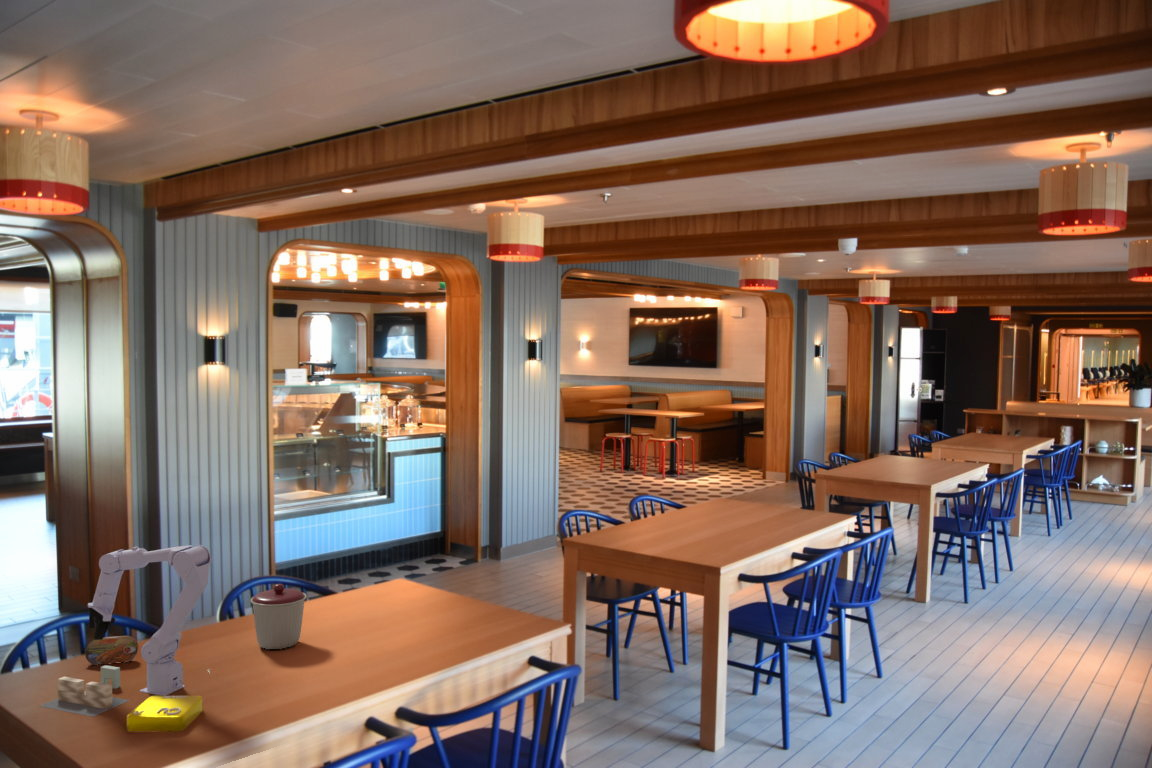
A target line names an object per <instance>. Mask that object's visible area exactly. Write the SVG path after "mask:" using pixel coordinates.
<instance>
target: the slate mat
mask: <svg viewBox="0 0 1152 768" xmlns="http://www.w3.org/2000/svg"><path fill="white" fill-rule="evenodd" d="M128 702H130V699H124V698H121V697H114V696H112V707H110V708H108V709H103V708H98V707H92V706H87V705H82V704H77V703H72V702H66V701H61V700H58V698H56V699H53V700H51V701H47V702H45V703H43V704H41V705H39V707H42V708H45V709H46V708H47V709H52V710H55V711H62V712H67V713H72V714H78V715H82V716H88V717H96V716H98V715H100V714H102V713H105V712H107V711H109V710H112V709H115V708H116V707H118V706H121V705H123V704H125V703H128Z"/></svg>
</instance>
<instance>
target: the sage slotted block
mask: <svg viewBox="0 0 1152 768" xmlns="http://www.w3.org/2000/svg"><path fill="white" fill-rule="evenodd" d="M110 680H111V685H112V689H115V690H116V689H118V688H121V667H119V666H118V667H117V666H112V665H101V666H100V683H103V684H109V685H110Z"/></svg>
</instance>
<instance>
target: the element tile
mask: <svg viewBox="0 0 1152 768" xmlns="http://www.w3.org/2000/svg"><path fill="white" fill-rule="evenodd" d="M202 712H203V696H201V695H166V696H161V695H151V696H148V698H146V699H145V700H143V701H142V702H141V703H139V704H138V705H137V706H136V707H135V708H134V709H132V711H130V712H129V713H128V714H127V715H126V731H127V730H128V731H172V732H171V733H175V732H174V731H178V732H181V730H182V731H184V730H185V729H186V728H188V727H189V725H190V724H191V723H192V722H194V720H195V719H196V718H198V717H199V716H200V714H201V713H202ZM183 729H184V730H183ZM128 731H127V732H128Z"/></svg>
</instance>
